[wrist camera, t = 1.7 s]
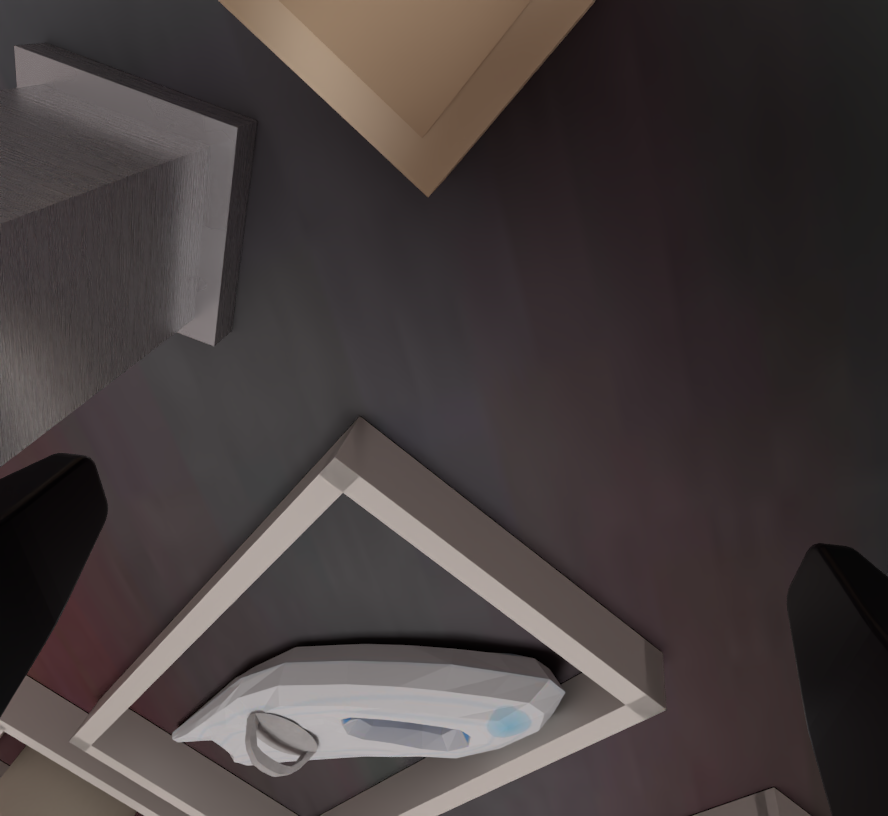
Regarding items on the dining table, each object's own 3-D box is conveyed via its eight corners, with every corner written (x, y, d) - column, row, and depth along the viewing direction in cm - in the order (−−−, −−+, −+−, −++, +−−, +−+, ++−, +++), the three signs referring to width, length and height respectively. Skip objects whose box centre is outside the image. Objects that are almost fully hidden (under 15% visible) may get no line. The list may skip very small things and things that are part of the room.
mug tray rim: (216, 793, 40) (194, 836, 38) (136, 848, 47) (114, 887, 45) (26, 675, 38) (-9, 714, 36) (-29, 750, 45) (-61, 787, 43)
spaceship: (525, 584, 26) (511, 682, 23) (591, 690, 29) (588, 793, 25) (134, 674, 36) (79, 752, 32) (208, 747, 39) (166, 828, 35)
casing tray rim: (662, 653, 26) (666, 709, 24) (312, 834, 40) (296, 880, 38) (359, 416, 23) (334, 457, 21) (98, 700, 38) (68, 741, 36)
